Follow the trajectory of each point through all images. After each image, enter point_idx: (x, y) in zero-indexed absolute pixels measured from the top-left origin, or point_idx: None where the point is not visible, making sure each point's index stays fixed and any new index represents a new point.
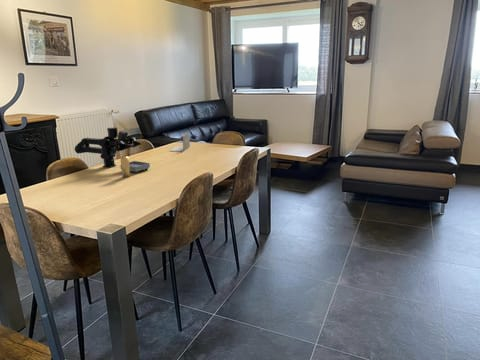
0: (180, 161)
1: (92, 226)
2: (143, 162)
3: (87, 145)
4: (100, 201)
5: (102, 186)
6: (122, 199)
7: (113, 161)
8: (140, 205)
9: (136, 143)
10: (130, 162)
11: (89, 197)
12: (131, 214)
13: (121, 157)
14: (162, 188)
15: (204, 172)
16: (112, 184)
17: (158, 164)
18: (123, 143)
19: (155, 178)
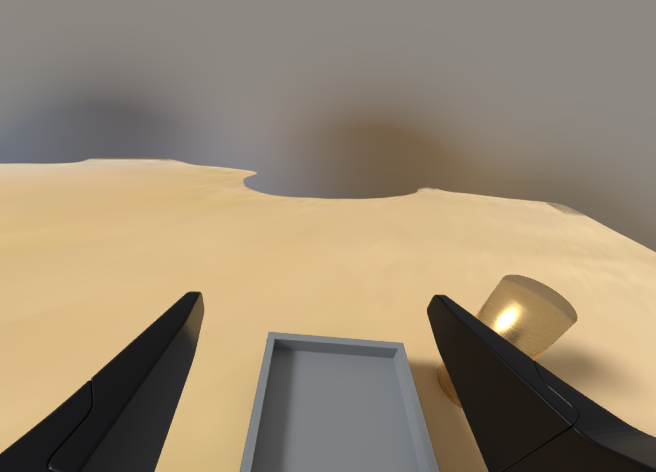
0: None
1: (596, 224)
2: (265, 390)
3: None
4: (597, 271)
5: (616, 368)
6: (534, 243)
7: None
8: (503, 211)
9: (145, 428)
10: None
11: (648, 314)
12: (527, 208)
13: (565, 306)
14: (421, 216)
15: (249, 190)
16: (561, 348)
17: None
18: (625, 441)
19: (377, 258)
